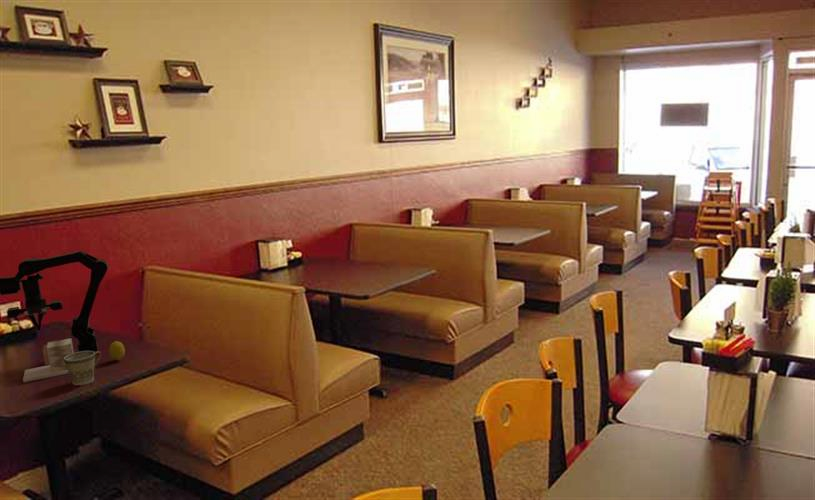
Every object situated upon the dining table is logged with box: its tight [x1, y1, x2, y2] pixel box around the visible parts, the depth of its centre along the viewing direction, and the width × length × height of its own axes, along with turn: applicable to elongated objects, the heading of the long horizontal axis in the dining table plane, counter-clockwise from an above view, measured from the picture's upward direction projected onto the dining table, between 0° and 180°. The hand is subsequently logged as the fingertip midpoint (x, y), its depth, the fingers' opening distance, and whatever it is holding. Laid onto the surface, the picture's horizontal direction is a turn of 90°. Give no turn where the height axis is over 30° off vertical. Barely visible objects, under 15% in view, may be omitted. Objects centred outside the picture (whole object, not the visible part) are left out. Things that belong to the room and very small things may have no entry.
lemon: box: [108, 340, 126, 362], centre depth 253 cm, size 6×6×8 cm
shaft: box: [42, 344, 74, 366], centre depth 245 cm, size 10×6×6 cm, turn 116°
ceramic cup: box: [64, 350, 102, 387], centre depth 233 cm, size 13×10×10 cm
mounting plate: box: [22, 364, 69, 383], centre depth 245 cm, size 18×12×1 cm, turn 116°
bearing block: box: [46, 337, 75, 372], centre depth 246 cm, size 8×8×10 cm
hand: (39, 329), depth 256 cm, fingers closed
